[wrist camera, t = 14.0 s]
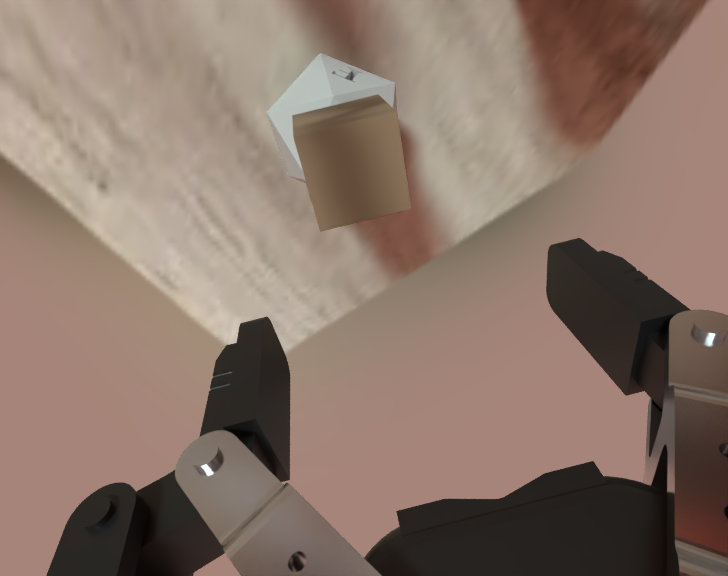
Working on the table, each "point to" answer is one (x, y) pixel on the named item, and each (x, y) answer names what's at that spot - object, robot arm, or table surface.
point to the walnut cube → (352, 161)
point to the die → (321, 100)
